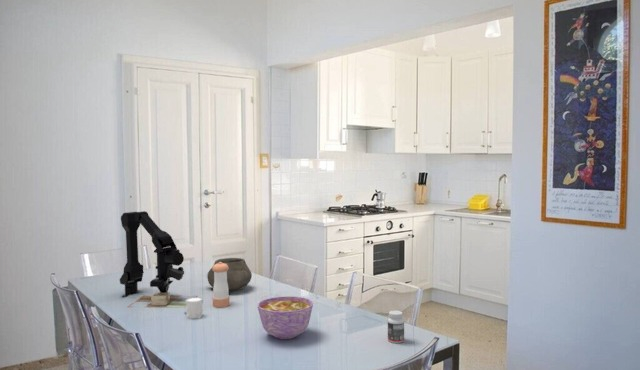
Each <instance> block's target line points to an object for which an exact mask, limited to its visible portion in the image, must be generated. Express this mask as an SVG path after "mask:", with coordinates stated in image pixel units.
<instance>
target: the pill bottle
mask: <svg viewBox="0 0 640 370" xmlns="http://www.w3.org/2000/svg"><path fill="white" fill-rule="evenodd" d="M403 315H404V314H403V311H400V310H390V311H389V312H388V317H389V318H387V341H388V342H390V343H393V344H401V343H403V342H404V341H405V320H404V318H403Z"/></svg>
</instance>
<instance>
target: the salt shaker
mask: <svg viewBox="0 0 640 370" xmlns="http://www.w3.org/2000/svg"><path fill="white" fill-rule="evenodd" d="M211 268H212V270H213V271H214V287H212V291H213V292H212V293H213V295H212V296H213V297H212V307H213V308H227V307H229V306H230V299H231V297H230V296H229V292H230V291H229V289H228V283H227V271H228V265H227V264H224V263H222V262H219V263H218V264H215V265H214V264H213V265H212V266H211Z"/></svg>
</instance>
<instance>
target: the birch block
mask: <svg viewBox="0 0 640 370" xmlns="http://www.w3.org/2000/svg"><path fill="white" fill-rule="evenodd" d="M150 296H151V301H152V305H166V304H168V303H169V302H170V296H171V293H170V292H169V291H168V292H161V293H160V292H155V293H154V294H152V295H150Z"/></svg>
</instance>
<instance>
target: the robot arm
mask: <svg viewBox="0 0 640 370" xmlns="http://www.w3.org/2000/svg"><path fill="white" fill-rule="evenodd" d="M120 223H121V227H122V228H123V229H124V232H125V242H126V243H125V244H126V246H125V247H126V263H125V265H124V267H123V273H122V275H121V276H120V278H119V284H120V285H124V294H123V295H121V298H127V297H129V296H130V295H134V294H137V293H138V292H139V290H138V287H139V286H138V285H139V284H138V283H140V282H142V281H143V276H144V273H145V272H144V264H141V263H140V261H139V248H138V247H139V246H138V243H139V242H138V231H139V228H140V226H141V227H143V228H144V230H145V231H146V232H147V233H148V234H149V236H150V237H151V242H152V244H153V246H154V247H155V249H154V250H153V253H155V254H156V266H155V270H156V272H157V274H156V276H155V278H153V279H152V280H151V281H149V287H150V288H155V287H156V288H157V289H158V290H159V293H161V292H169V288H170V285H171V284H172V283H173V282H174V280H171V278H172V279H175V280H176V281H181V280H182V279H183V277H184V275H185V270H184V267H183V266H180V265H182V264H183V262H184V259H185V258H184V255H183V253H182V252H181V251H180V250H181V249H179V248H177V245H176V243H175V241H174V239H173V237H172V236H171V235H170V234H169V233H168V232H167V231H164V230H162V229H161V228H160V226H158V225H157V224H156V223H155V221H154V220H153V219H152V217H150V215H149V213H148V212H147V211H129V212H124V213H122V215H121V216H120ZM174 266H179V267H178V268H177V267H175V268H174Z"/></svg>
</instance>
